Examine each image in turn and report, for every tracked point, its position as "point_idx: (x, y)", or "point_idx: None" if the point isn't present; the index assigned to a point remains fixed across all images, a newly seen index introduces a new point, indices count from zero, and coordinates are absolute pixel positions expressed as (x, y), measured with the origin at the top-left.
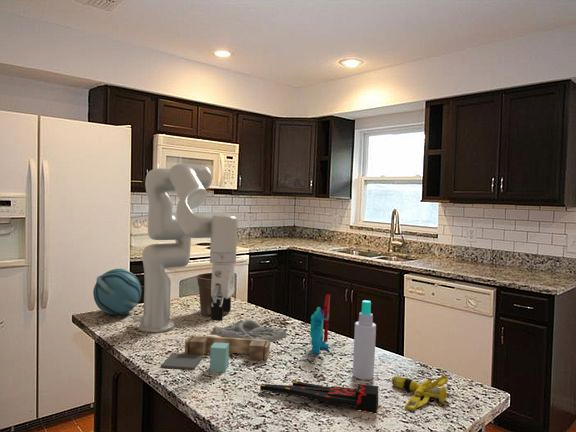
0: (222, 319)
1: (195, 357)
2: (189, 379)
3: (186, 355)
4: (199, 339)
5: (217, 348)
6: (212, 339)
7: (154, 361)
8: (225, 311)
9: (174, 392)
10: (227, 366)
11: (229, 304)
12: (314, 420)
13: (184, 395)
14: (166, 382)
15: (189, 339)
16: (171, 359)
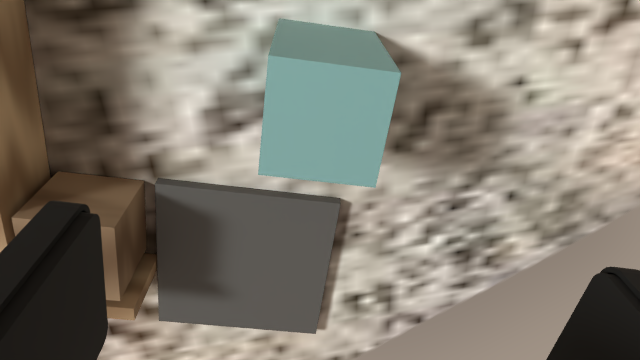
0: (636, 274)
1: (196, 217)
2: (458, 200)
3: (175, 260)
4: None
5: (386, 137)
6: (2, 178)
7: (250, 356)
8: (101, 267)
9: (586, 235)
10: (308, 24)
11: (32, 310)
12: None
13: (628, 194)
14: (478, 279)
15: None
16: (242, 309)
